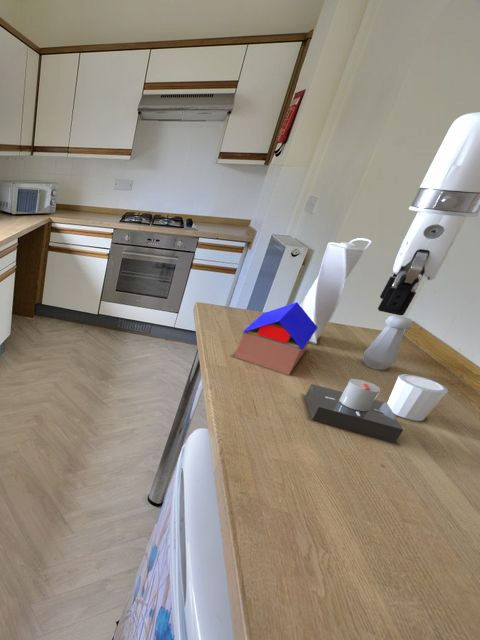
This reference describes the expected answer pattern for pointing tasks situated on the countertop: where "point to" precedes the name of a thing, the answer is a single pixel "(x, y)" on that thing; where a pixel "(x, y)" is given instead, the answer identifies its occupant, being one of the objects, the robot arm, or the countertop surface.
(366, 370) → the countertop surface
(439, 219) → the robot arm
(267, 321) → the house
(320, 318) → the skyscraper
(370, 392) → the hob knob
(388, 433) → the hob panel
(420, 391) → the shot glass
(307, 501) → the countertop surface
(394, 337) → the salt shaker
